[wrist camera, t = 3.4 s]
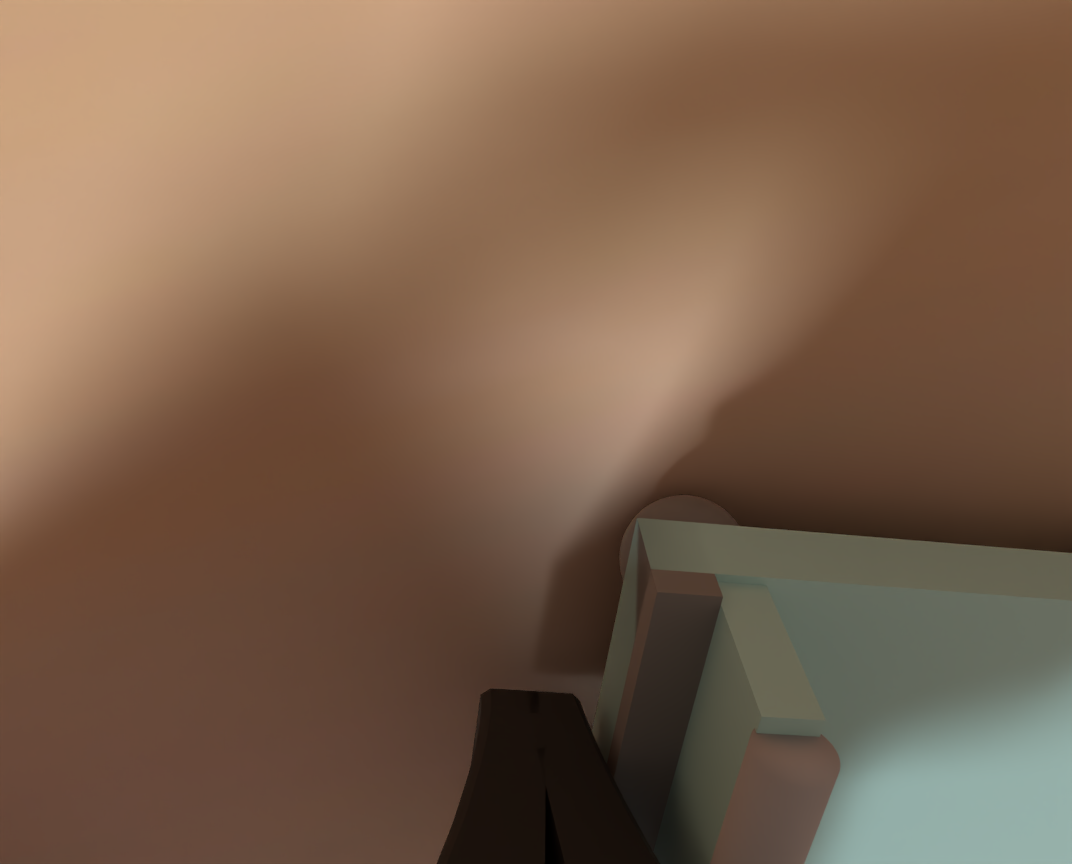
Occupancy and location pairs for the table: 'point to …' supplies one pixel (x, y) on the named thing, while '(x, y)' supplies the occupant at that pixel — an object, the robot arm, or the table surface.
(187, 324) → the table surface
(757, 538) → the trolley
